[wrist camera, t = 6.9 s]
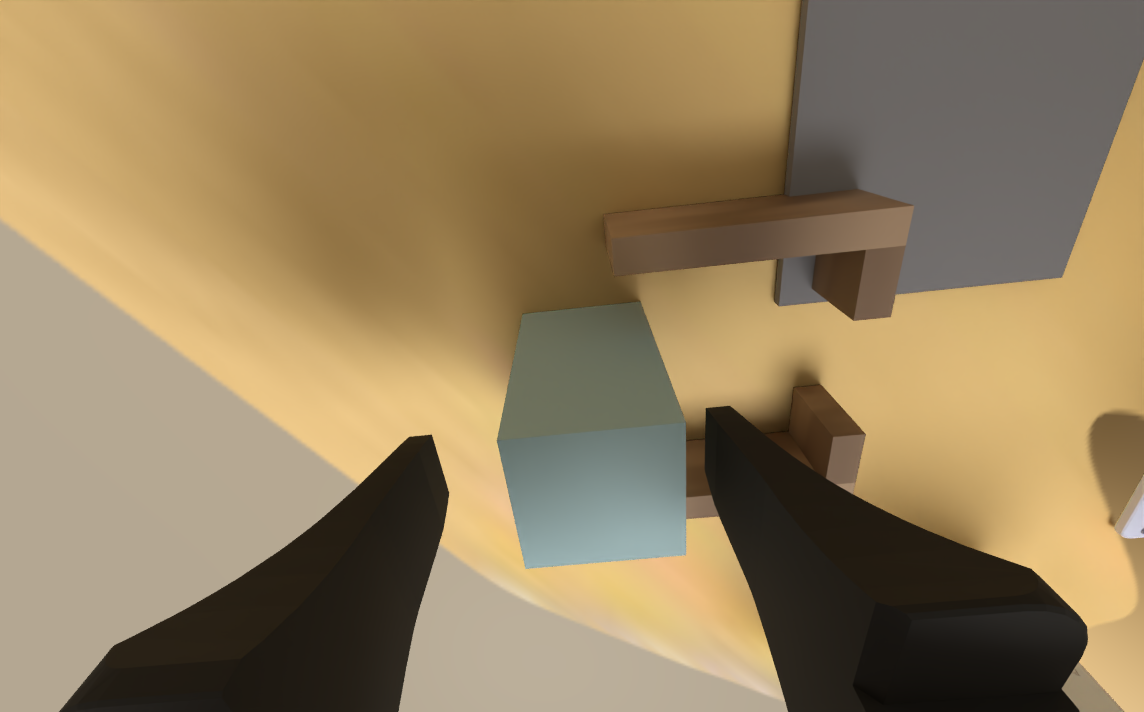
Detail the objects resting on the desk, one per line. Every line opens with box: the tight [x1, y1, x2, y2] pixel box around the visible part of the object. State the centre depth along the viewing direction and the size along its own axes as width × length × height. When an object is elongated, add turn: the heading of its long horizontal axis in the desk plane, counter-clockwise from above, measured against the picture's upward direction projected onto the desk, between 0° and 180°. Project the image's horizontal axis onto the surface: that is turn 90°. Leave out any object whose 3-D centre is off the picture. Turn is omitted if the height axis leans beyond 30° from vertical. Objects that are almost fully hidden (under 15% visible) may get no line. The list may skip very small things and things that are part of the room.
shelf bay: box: [604, 189, 914, 519], centre depth 16 cm, size 8×10×3 cm
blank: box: [497, 302, 686, 569], centre depth 14 cm, size 4×4×7 cm
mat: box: [774, 0, 1144, 306], centre depth 14 cm, size 9×9×1 cm
